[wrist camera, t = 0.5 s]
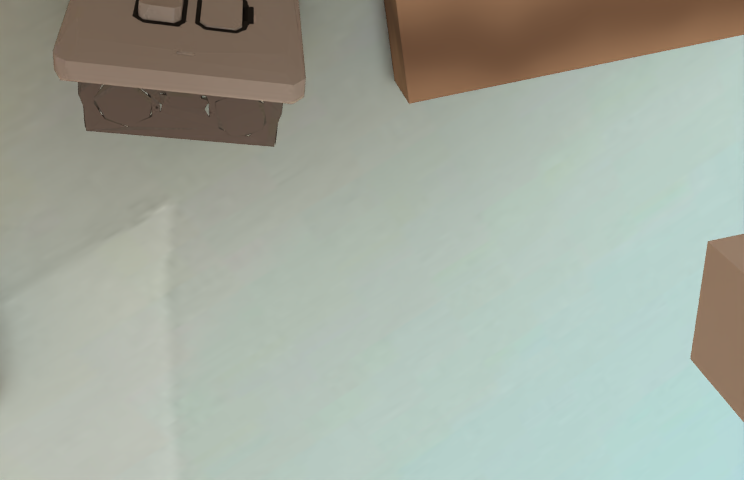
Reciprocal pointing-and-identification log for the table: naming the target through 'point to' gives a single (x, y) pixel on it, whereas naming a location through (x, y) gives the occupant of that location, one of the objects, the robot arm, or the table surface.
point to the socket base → (538, 37)
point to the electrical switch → (184, 66)
